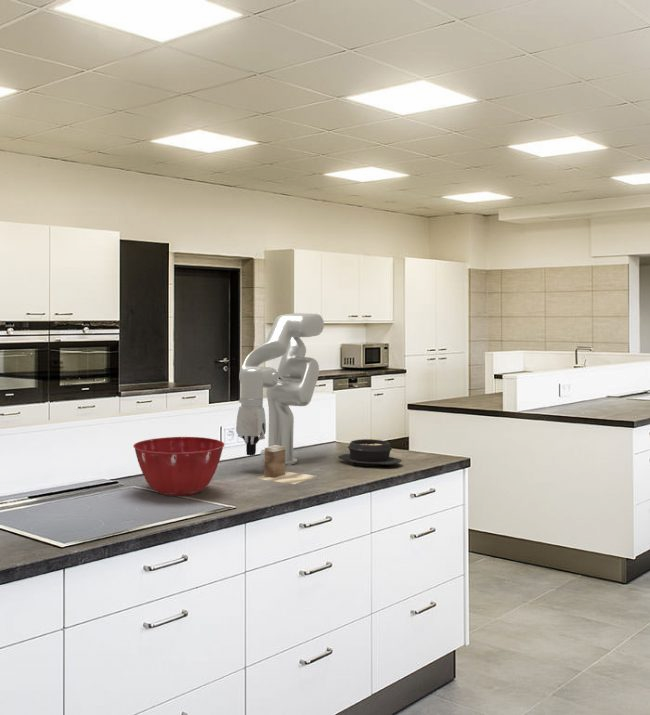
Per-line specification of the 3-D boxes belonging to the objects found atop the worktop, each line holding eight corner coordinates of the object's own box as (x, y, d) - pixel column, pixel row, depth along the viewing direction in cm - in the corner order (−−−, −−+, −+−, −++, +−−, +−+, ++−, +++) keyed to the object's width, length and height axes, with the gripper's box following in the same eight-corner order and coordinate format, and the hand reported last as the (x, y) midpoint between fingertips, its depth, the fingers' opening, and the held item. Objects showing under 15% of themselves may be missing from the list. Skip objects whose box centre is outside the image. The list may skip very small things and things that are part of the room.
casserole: (329, 464, 314) (329, 442, 313) (351, 456, 330) (352, 436, 329) (388, 471, 301) (389, 448, 301) (409, 463, 318) (409, 442, 317)
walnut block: (264, 476, 285) (264, 447, 284) (275, 473, 291) (275, 445, 290) (274, 477, 283) (274, 449, 282) (284, 474, 289) (285, 446, 288)
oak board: (254, 480, 282) (254, 478, 282) (279, 472, 295) (279, 470, 295) (294, 485, 274) (294, 484, 274) (318, 477, 288) (318, 476, 288)
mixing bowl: (181, 506, 243) (181, 454, 242) (113, 493, 258) (113, 444, 257) (241, 489, 266) (242, 442, 265) (176, 478, 282) (176, 433, 281)
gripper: (228, 402, 291) (227, 454, 292) (263, 405, 283) (262, 458, 284) (240, 400, 297) (239, 451, 298) (275, 404, 290) (274, 455, 291)
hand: (251, 454), depth 291 cm, fingers closed
